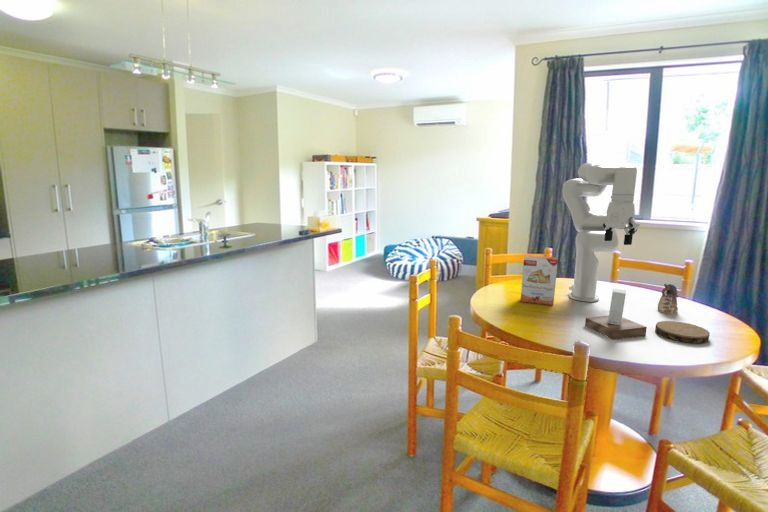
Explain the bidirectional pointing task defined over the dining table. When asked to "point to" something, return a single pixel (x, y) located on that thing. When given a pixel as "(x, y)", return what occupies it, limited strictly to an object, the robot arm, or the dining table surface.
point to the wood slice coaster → (682, 332)
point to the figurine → (668, 300)
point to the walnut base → (616, 327)
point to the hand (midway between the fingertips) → (617, 242)
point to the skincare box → (616, 306)
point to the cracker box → (539, 279)
